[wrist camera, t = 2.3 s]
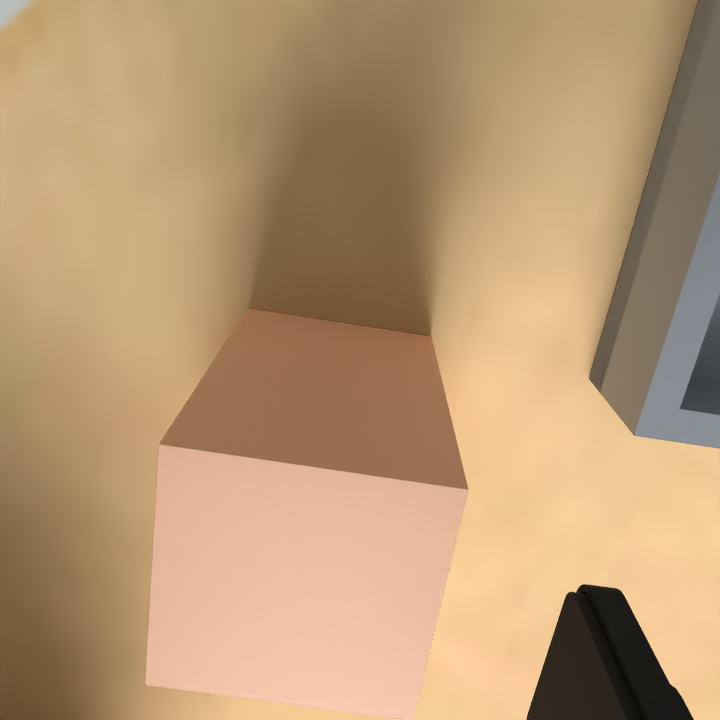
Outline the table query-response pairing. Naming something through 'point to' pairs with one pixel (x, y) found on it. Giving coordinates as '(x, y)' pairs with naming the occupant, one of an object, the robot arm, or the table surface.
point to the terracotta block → (306, 519)
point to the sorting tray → (673, 267)
